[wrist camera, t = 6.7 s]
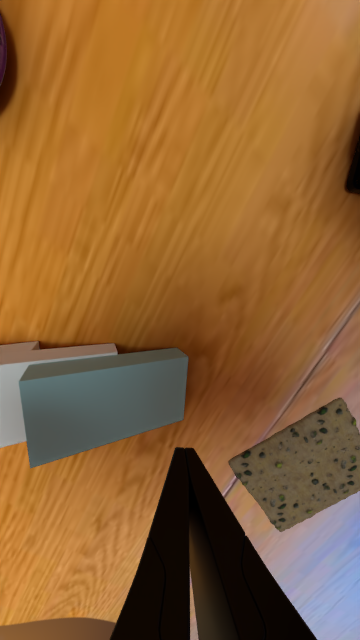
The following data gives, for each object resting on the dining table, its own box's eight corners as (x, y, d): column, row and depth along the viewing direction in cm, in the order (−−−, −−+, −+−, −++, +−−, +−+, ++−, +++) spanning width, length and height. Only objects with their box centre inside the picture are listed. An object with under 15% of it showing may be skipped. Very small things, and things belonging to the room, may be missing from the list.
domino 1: (117, 352, 12) (-95, 375, 8) (118, 417, 13) (-69, 465, 9) (114, 343, 14) (-65, 358, 10) (115, 402, 15) (-46, 437, 11)
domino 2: (188, 356, 13) (18, 381, 8) (183, 419, 14) (30, 468, 10) (177, 347, 14) (29, 364, 10) (173, 404, 15) (38, 440, 11)
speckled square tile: (277, 528, 20) (282, 541, 19) (224, 457, 17) (227, 468, 16) (376, 475, 19) (387, 485, 18) (337, 392, 17) (348, 399, 16)
